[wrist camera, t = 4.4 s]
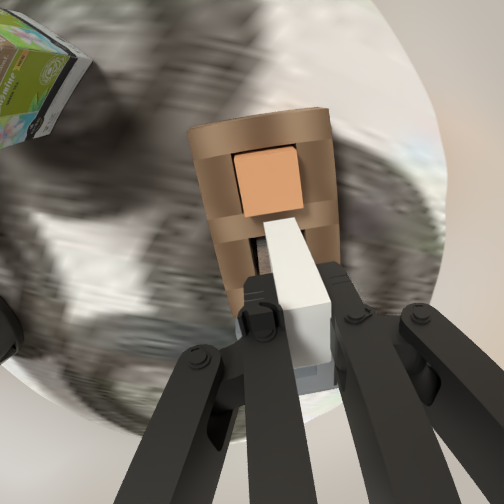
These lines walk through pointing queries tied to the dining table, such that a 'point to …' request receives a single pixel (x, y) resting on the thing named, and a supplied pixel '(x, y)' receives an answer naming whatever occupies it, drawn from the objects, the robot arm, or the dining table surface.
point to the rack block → (310, 374)
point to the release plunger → (269, 179)
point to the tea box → (34, 77)
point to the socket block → (244, 228)
